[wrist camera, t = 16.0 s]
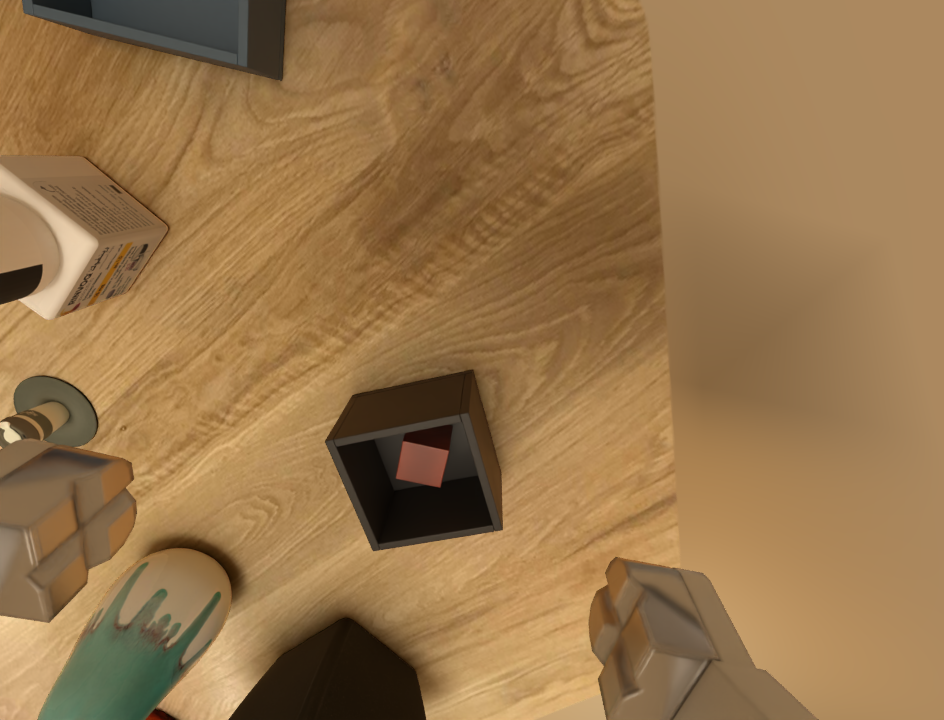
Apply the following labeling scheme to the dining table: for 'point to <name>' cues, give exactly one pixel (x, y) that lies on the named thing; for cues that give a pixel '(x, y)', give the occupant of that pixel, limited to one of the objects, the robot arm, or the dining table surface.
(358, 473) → the basket
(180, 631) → the vase
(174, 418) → the dining table surface
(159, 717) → the ceramic vessel
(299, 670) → the flower pot
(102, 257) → the container
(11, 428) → the coffee cup
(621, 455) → the dining table surface
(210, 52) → the box
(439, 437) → the block
